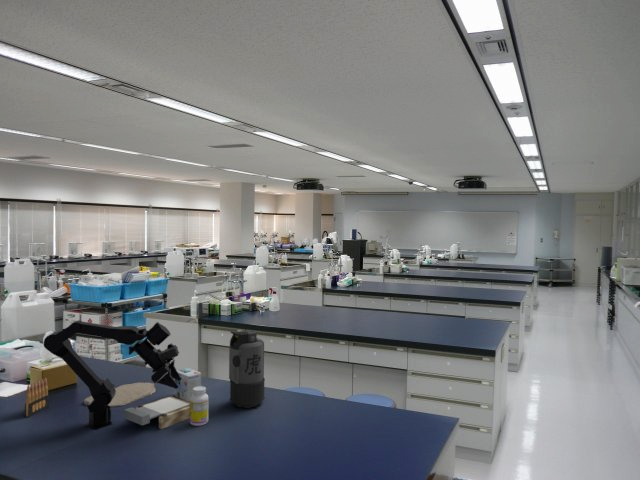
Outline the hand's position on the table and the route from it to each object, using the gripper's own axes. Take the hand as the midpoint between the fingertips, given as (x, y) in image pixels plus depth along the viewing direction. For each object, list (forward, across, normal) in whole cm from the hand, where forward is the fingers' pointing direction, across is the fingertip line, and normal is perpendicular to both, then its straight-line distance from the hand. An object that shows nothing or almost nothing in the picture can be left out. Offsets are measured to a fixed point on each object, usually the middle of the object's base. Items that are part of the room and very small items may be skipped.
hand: (178, 383), depth 179 cm
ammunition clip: (-27, +16, +49) cm, 58 cm away
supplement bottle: (+15, -4, +4) cm, 16 cm away
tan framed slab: (+7, +4, +13) cm, 15 cm away
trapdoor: (+3, +1, +13) cm, 13 cm away
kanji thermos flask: (+28, +14, -9) cm, 32 cm away
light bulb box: (+11, +25, +9) cm, 28 cm away
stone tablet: (-7, +29, +28) cm, 41 cm away
